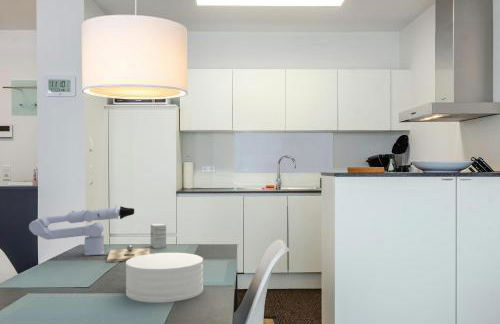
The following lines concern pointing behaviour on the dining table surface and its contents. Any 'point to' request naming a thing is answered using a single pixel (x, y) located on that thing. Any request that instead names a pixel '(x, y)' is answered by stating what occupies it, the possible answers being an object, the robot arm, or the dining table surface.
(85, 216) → the robot arm
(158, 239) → the supplement box
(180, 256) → the plate stack
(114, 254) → the birch board
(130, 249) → the steel ball
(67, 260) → the dining table surface
